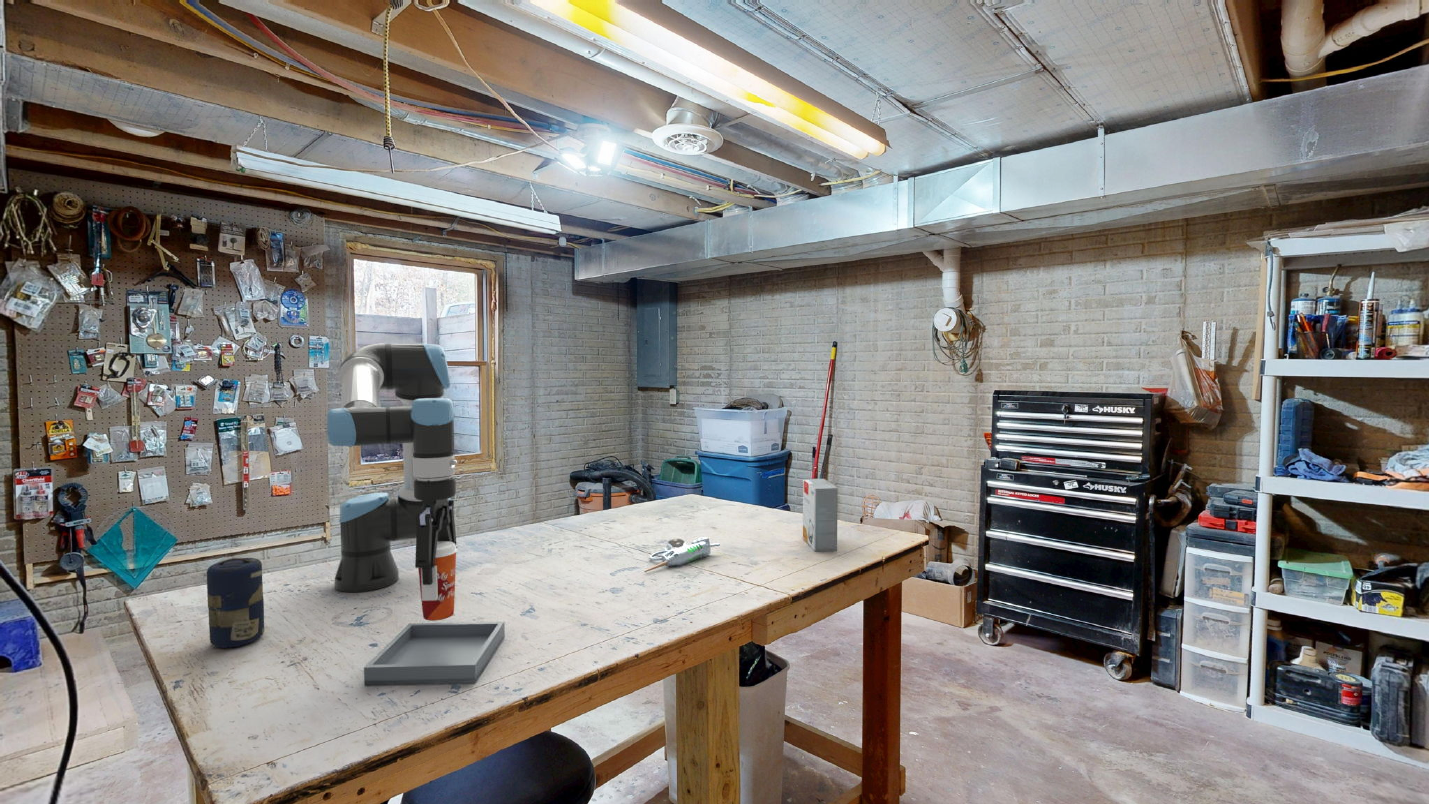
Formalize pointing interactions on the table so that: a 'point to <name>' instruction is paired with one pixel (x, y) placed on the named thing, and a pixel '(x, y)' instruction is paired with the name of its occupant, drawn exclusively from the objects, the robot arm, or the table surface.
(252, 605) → the canister
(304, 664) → the table surface
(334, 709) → the table surface
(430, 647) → the tray
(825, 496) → the hard drive box
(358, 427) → the robot arm
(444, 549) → the paper cup
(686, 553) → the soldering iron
